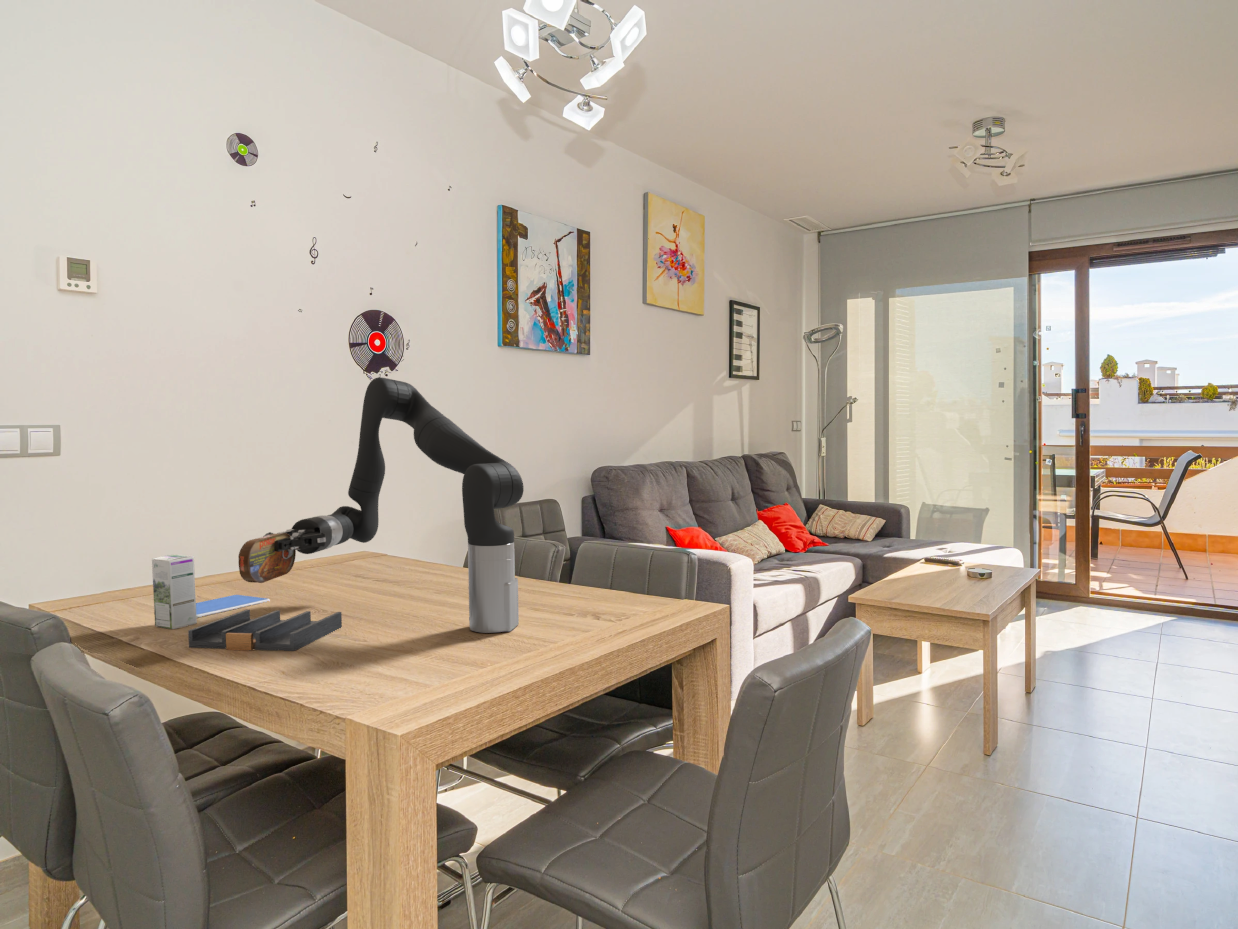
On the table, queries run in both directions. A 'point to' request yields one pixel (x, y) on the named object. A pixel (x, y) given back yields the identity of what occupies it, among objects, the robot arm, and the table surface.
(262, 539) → the tin
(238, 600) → the tablet computer
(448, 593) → the table surface
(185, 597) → the syrup box
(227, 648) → the rack
